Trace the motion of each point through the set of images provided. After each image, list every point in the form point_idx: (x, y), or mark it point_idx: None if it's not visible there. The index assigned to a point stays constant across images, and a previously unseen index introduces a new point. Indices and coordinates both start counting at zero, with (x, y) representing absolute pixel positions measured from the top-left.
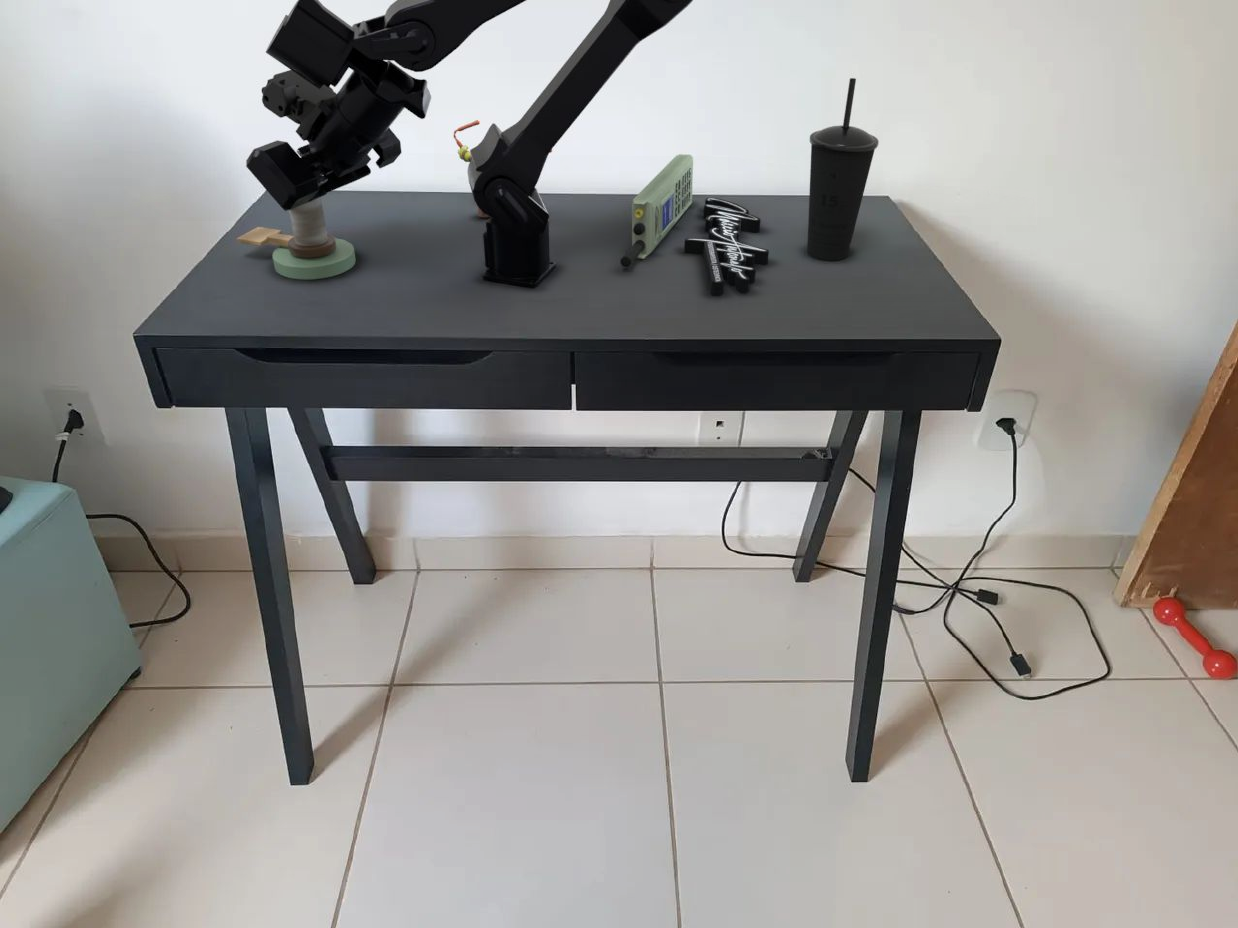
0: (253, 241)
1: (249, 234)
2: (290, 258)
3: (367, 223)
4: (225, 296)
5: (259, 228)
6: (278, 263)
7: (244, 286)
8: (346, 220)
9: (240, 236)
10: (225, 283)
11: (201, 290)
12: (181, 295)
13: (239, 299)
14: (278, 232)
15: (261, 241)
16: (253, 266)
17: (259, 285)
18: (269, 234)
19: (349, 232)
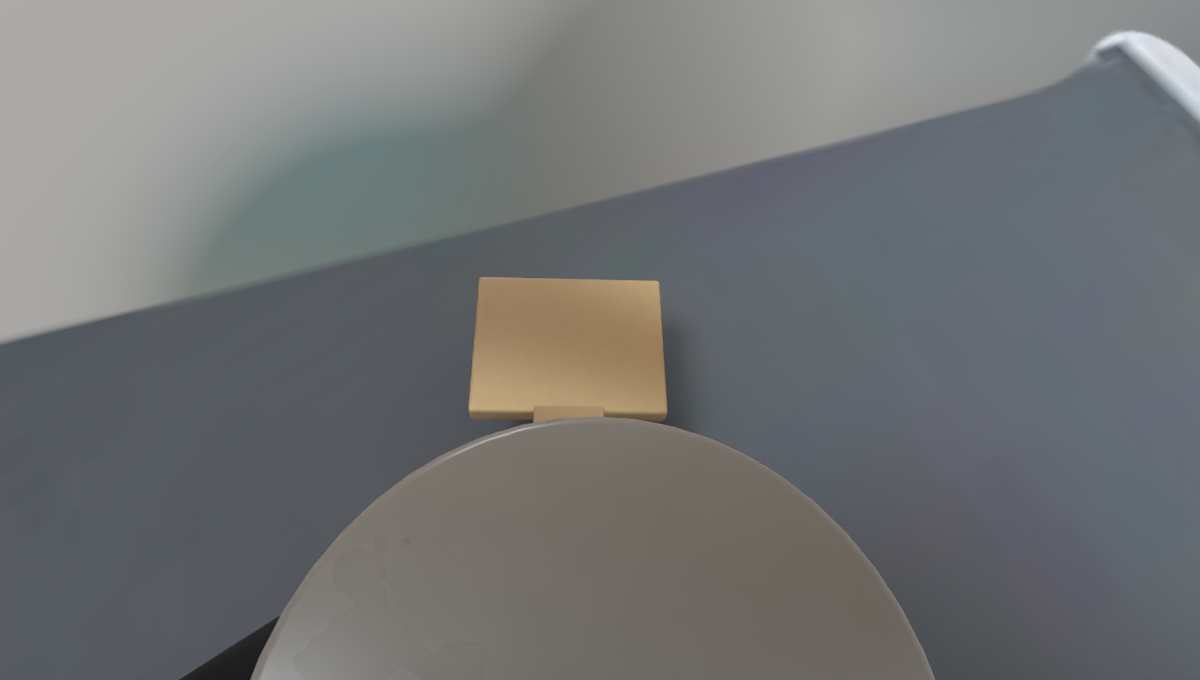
0: (473, 370)
1: (549, 300)
2: None
3: (1188, 639)
4: (52, 521)
5: (638, 299)
6: None
7: (189, 533)
8: (1132, 501)
9: (507, 279)
10: (212, 426)
11: (118, 377)
12: (55, 334)
13: (14, 614)
14: (639, 414)
15: (480, 411)
16: (434, 425)
17: (212, 600)
18: (588, 390)
19: (1027, 620)
